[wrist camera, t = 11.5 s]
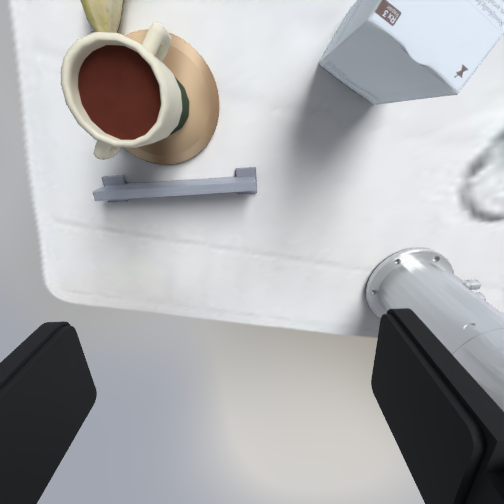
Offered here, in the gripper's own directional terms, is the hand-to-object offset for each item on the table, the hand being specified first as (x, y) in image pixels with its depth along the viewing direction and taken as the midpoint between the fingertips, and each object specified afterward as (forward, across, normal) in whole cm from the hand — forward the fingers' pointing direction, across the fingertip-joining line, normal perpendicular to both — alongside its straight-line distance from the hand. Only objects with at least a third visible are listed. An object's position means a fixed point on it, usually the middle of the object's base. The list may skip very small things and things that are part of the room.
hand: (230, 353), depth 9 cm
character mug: (+28, +9, -10) cm, 31 cm away
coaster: (+29, +9, -10) cm, 32 cm away
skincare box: (+30, -13, -13) cm, 35 cm away
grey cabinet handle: (+29, +8, -1) cm, 30 cm away
